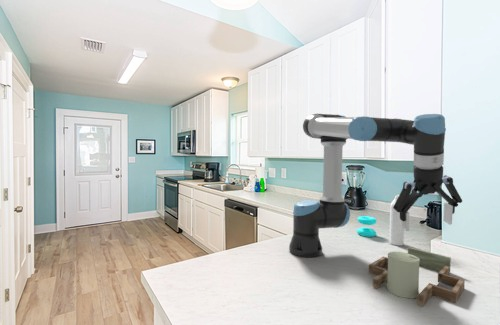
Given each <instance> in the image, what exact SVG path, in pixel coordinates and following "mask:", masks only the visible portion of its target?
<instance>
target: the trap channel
mask: <svg viewBox="0 0 500 325" xmlns="http://www.w3.org/2000/svg"><path fill="white" fill-rule="evenodd" d="M407 253H408V254H411V255H414V256H416V257H418V258H419V259H420V262H419V266H422V267H425V268H428V269H433V270H436V271H438V273H437V282H438V283H437V284H433V283H430V282H428V284H427V285H426V286H425V287H424V288H423V289H422V290H421V291H420V292H419V295H418V297H417V306H420V307H424V306H425V304H426V303H427V302H429V300H430V299H431V297H432V296H434V297H437V298H440V299H443V300H446V301H449V302H452V303H455V304H456V303H457V302H458V300H459V298H460V296H461V295H462V293H463V291H464V290H465V279H463V278H459V277H456V276H452V275H450V274H451V263H452V262H451V260H452V259H451V258H452V257H451V256H447V255H442V254H438V253H434V252H431V251H426V250H422V249H417V248H413V247H410V246H409V247H407ZM368 273H369V274H371V275H374V276H375V277H374V278H373V280H372V281H373V284H372V288H373V289H376V290H377V289H379V288H380V287H381V286H383V285H384V284H385V283H387V280H388V256H387V257H386V256H381V257H380V258H378V259H376V260H375V261H374V262H372V263H370V264H368Z"/></svg>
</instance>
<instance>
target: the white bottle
mask: <svg viewBox="0 0 500 325" xmlns="http://www.w3.org/2000/svg"><path fill="white" fill-rule="evenodd" d="M399 195H400V194H396V195H395V196H394V199H393V200H392V201H391V202H390V205H389V206H390V207H389V235H388V236H389V238H388V239H389V240H388V242H389V244H391V245H393V246H404V244H405V242H404V241H405V240H404V239H405V229H404V228H403V227H402V220H401V219H400V212H397V211H396V210H395V209H394V208H393V207H394V205H395V203H396V201H397V199H398V197H399Z"/></svg>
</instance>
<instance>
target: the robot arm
mask: <svg viewBox="0 0 500 325" xmlns="http://www.w3.org/2000/svg"><path fill="white" fill-rule="evenodd" d="M446 128H447V127H446V118H445V117H444V115H442V114H440V113H439V114H438V113H425V114H420V115H416V116H415V118H414V120H413V119H412V120H410V119H402V118H385V117H384V118H382V117H374V116H373V117H371V116H356V117H355V116H354V117H347V116H345V115H341V114H326V113H314V114H311V115H308V116H306V118H305V119H304V120H303V123H302V130H303V132H304V134H305V135H306V136H307V137H310V138H311V139H312V138H313V139H317V140H318V139H319V140H320V144H321V145H322V146H323V163H322V164H323V166H322V167H323V168H322V169H323V170H322V171H323V173H322V174H323V175H322V180H323V181H322V196H321V197H319V201H318V200H313V199H311V200H307V199H306V200H301V201H298V202H296V203H294V205H293V213H292V214H293V229H292V230H293V231H292V235H291V236H292V237H291V239H290V243H289V247H288V252H290V253H291V254H293V255H295V256H298V257H303V258H317V257H319V256H322V254H323V247H322V242H321V239H320V236H319V232H320V230H321V229H331V228H334V229H335V228H337V229H338V228H342V227H344V226H345V225H348V222H349V221H350V219H351V211H350V207H349V205H348V204H347V203H346V201H345V199H344V198H343V196H342V187H343V147H344V146H345V144H346V143H347V140H348V139H351V140H354V141H359V142H386V143H387V142H388V143H403V144H407V145H412V146H413V179H414V180H413V182H407V181H403V184H402V189H401V191H400V193H399V194H398V195H399V197H398V199H397V201H396V203H395V205H394V207H393V208H394V209H395V210H396V211H397V212H400V219H401V220H402V227H403V228H404V231H406V232H407V231H410V212H409V210H410V209H411V208H412V207H413V205H414V204H415V203H416V202H417V201H418V200H419V198H421V197H422V196H423V195H424V196H426V195H429V194H435V193H437V194H438V195H439V196H440V197H441V198H442V199H444V200H445V201H446V202H444V204H443V221H444V222H445V223H447V224H448V225H452V224H453V214H455V211H456V210H455V209H456V208H458V206H459V204H461V203H463V199H462V198H461V195H460V194H459V192H458V190H457V189H456V186H455V185H454V178H453V177H451V176H450V175H447V174H444V160H445V147H444V146H445V138H446ZM443 184H444V186H445V188H446V189H447V191H448V193H449V195H448V194H447V193H446V192H445V191H444V190H443V189H442V188H441V186H442V185H443ZM458 203H459V204H458Z"/></svg>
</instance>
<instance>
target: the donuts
mask: <svg viewBox="0 0 500 325" xmlns="http://www.w3.org/2000/svg"><path fill="white" fill-rule="evenodd" d="M357 221H358V223H359V224H362V225H365V226H366V227H359V228H357V230H356V232H357V234H358V235H360V236H361V237H365V238H373V237H375V236H376V235H377V232H376V231H375V229H374V228H370V227H367V226H374V225H375V224H376V223H377V219H376V218H375V217H372V216H366V215H365V216H364V215H363V216H358V217H357Z"/></svg>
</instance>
